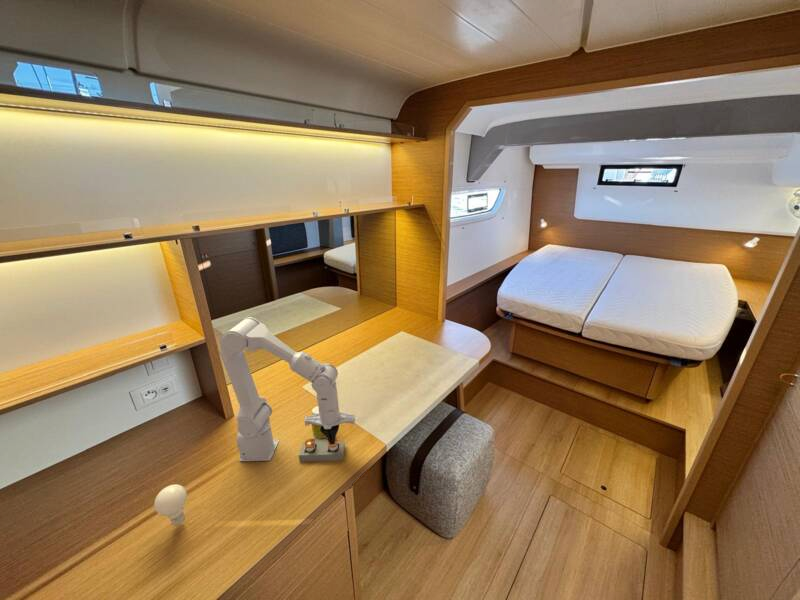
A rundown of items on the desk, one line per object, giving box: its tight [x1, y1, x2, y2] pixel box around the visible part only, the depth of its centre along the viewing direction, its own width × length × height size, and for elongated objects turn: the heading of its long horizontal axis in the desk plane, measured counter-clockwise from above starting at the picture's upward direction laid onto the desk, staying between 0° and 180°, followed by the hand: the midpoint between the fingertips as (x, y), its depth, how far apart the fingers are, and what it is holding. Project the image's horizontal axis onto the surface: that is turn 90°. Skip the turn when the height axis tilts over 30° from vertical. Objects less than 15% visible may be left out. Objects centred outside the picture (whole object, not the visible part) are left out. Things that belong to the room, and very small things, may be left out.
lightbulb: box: [153, 483, 188, 527], centre depth 77 cm, size 6×6×11 cm
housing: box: [298, 439, 346, 462], centre depth 103 cm, size 13×18×2 cm
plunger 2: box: [327, 438, 339, 452], centre depth 96 cm, size 3×3×4 cm
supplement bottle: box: [311, 405, 326, 439], centre depth 104 cm, size 5×5×10 cm
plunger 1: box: [304, 438, 316, 453], centre depth 96 cm, size 3×3×4 cm
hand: (332, 442), depth 96 cm, fingers closed, pressing on plunger 2
